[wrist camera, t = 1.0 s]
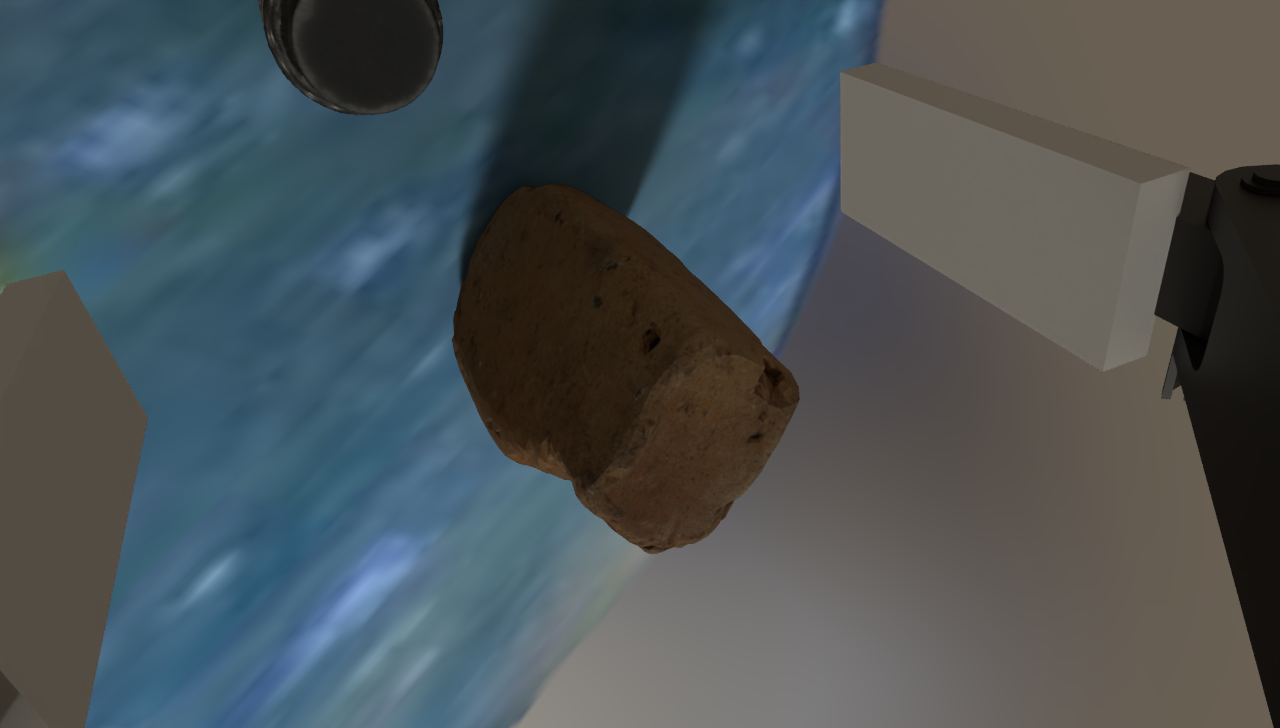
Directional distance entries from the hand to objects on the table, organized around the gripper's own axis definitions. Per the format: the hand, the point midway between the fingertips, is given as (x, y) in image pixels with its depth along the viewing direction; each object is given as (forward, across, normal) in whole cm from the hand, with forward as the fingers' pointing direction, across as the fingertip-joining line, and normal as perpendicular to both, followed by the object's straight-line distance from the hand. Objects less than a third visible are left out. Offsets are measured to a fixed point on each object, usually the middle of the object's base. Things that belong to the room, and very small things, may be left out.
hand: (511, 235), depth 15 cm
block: (+28, -5, +14) cm, 32 cm away
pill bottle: (+28, +1, 0) cm, 28 cm away
